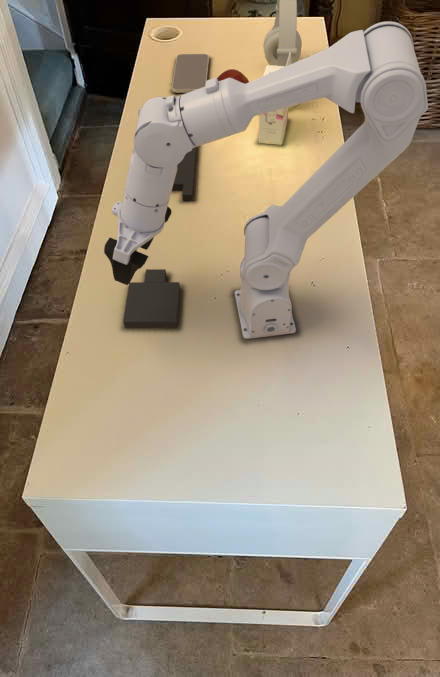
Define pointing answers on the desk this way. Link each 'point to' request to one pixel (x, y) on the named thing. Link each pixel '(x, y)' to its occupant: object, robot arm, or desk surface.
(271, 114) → the ink cartridge box
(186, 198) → the black pad
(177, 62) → the smartphone
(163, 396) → the desk surface
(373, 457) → the desk surface
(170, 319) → the charcoal pad
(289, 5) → the headphones
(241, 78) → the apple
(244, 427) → the desk surface
